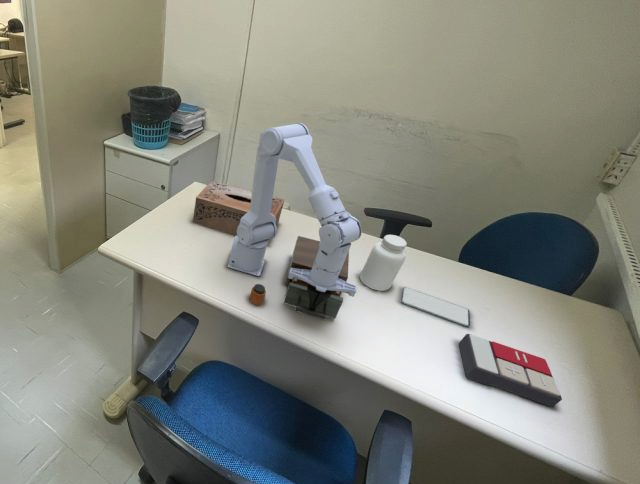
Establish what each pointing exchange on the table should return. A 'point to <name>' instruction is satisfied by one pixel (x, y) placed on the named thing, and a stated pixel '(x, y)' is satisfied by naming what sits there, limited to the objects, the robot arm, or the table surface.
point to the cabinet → (311, 257)
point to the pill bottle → (384, 263)
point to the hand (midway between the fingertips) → (312, 306)
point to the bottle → (257, 294)
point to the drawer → (301, 301)
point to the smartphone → (436, 306)
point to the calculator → (508, 369)
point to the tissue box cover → (227, 207)
